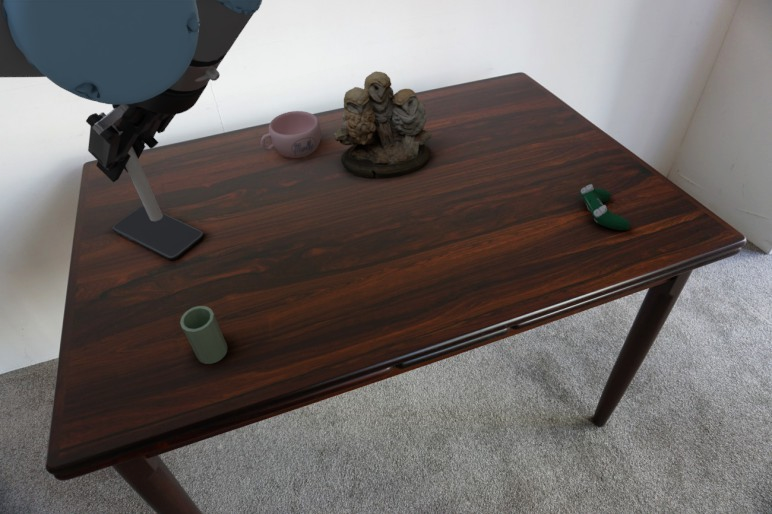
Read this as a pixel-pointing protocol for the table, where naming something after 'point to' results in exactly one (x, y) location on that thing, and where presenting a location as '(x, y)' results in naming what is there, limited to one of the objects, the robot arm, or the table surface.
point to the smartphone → (158, 233)
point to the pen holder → (204, 334)
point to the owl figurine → (383, 130)
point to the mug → (294, 134)
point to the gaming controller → (602, 208)
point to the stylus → (143, 187)
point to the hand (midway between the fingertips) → (114, 167)
